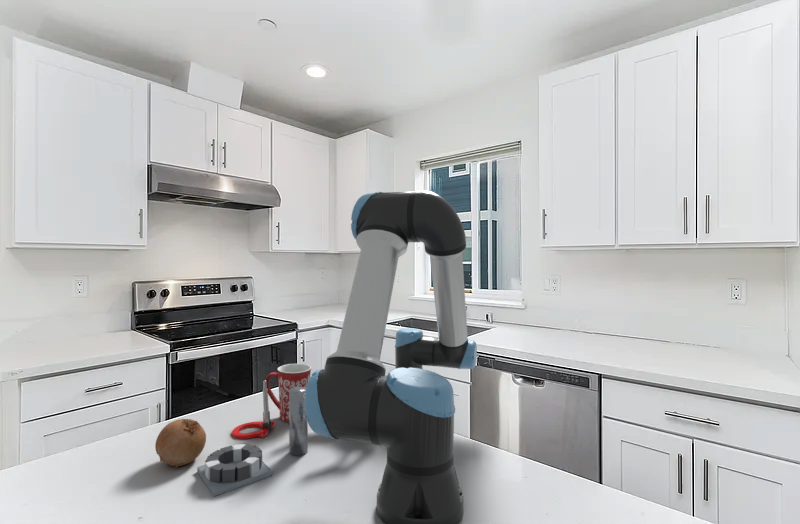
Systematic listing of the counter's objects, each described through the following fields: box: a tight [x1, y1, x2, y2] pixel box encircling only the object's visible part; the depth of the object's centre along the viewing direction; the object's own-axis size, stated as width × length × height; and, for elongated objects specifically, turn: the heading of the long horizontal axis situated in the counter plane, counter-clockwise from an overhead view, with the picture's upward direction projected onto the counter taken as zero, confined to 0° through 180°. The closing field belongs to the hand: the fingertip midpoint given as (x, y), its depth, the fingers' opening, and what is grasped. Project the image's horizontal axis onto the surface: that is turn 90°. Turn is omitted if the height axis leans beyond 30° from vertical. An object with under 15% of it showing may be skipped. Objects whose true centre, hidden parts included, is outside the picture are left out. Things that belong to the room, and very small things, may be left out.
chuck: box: [196, 443, 273, 497], centre depth 82 cm, size 11×11×4 cm
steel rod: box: [288, 387, 309, 457], centre depth 91 cm, size 4×4×14 cm
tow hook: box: [231, 379, 275, 440], centre depth 102 cm, size 8×13×9 cm
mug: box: [265, 363, 312, 423], centre depth 111 cm, size 13×9×14 cm
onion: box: [154, 418, 207, 469], centre depth 87 cm, size 10×9×10 cm
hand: (306, 413), depth 93 cm, fingers open, 13 cm apart
